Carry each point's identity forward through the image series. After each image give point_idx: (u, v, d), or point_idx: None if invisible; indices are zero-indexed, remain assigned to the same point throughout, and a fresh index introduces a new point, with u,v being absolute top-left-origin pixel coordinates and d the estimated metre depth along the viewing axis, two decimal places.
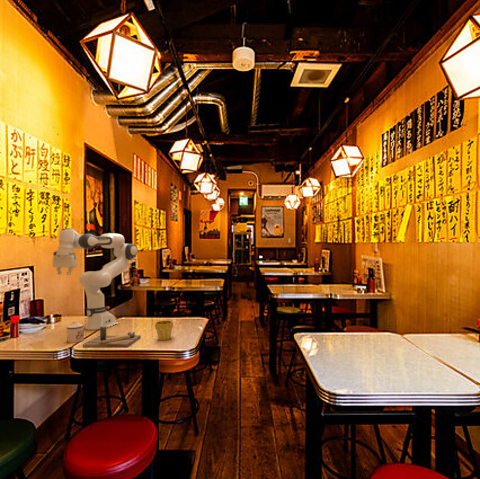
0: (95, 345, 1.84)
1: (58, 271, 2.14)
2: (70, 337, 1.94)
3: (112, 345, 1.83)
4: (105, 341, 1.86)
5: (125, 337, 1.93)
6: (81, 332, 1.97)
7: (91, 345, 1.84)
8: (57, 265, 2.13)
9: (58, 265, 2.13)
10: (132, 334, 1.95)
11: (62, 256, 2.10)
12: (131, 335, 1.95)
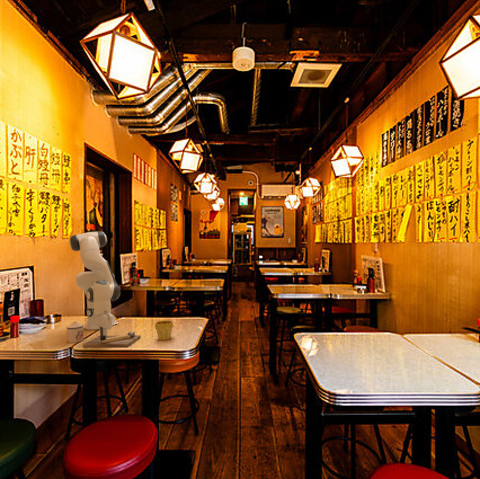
0: (95, 345, 1.84)
1: None
2: (70, 337, 1.94)
3: (112, 345, 1.83)
4: (105, 341, 1.86)
5: (125, 337, 1.93)
6: (81, 332, 1.97)
7: (91, 345, 1.84)
8: (97, 323, 1.89)
9: (97, 323, 1.88)
10: (132, 334, 1.95)
11: (98, 315, 1.84)
12: (131, 335, 1.95)
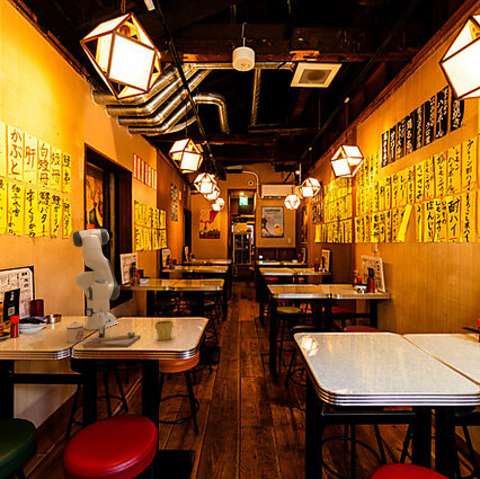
0: (95, 345, 1.84)
1: None
2: (70, 337, 1.94)
3: (112, 345, 1.83)
4: (103, 339, 1.90)
5: (124, 337, 1.94)
6: (81, 332, 1.97)
7: (91, 345, 1.84)
8: None
9: None
10: (131, 334, 1.95)
11: (96, 313, 1.90)
12: (130, 335, 1.95)
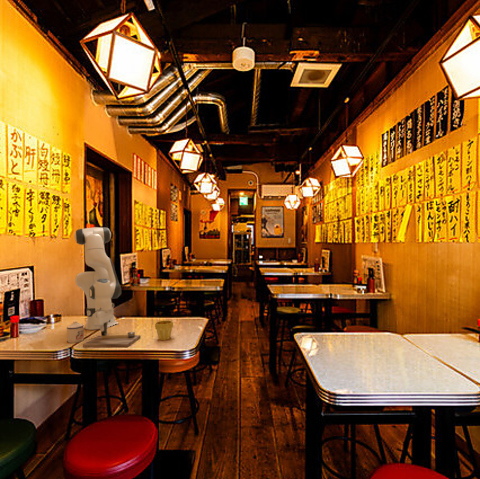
0: (95, 345, 1.84)
1: None
2: (70, 337, 1.94)
3: (112, 345, 1.83)
4: (104, 337, 1.95)
5: (123, 336, 1.95)
6: (81, 332, 1.97)
7: (91, 345, 1.84)
8: None
9: None
10: (130, 334, 1.95)
11: None
12: (129, 335, 1.95)
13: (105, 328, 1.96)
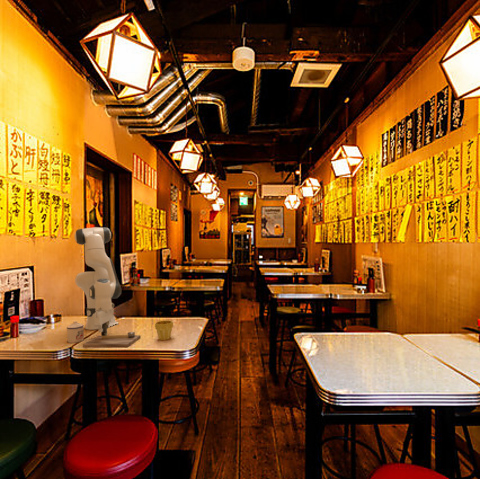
0: (95, 345, 1.84)
1: None
2: (70, 337, 1.94)
3: (112, 345, 1.83)
4: (104, 337, 1.95)
5: (123, 336, 1.95)
6: (81, 332, 1.97)
7: (91, 345, 1.84)
8: None
9: None
10: (130, 334, 1.95)
11: None
12: (129, 335, 1.95)
13: (105, 328, 1.96)
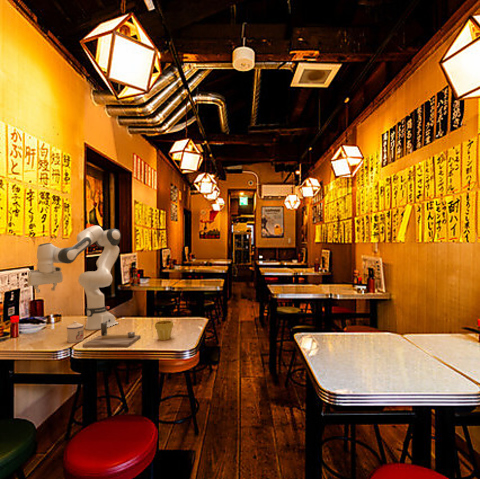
0: (95, 345, 1.84)
1: (52, 287, 2.11)
2: (70, 337, 1.94)
3: (112, 345, 1.83)
4: (104, 337, 1.95)
5: (123, 336, 1.95)
6: (81, 332, 1.97)
7: (91, 345, 1.84)
8: None
9: None
10: (130, 334, 1.95)
11: None
12: (129, 335, 1.95)
13: (105, 328, 1.96)
